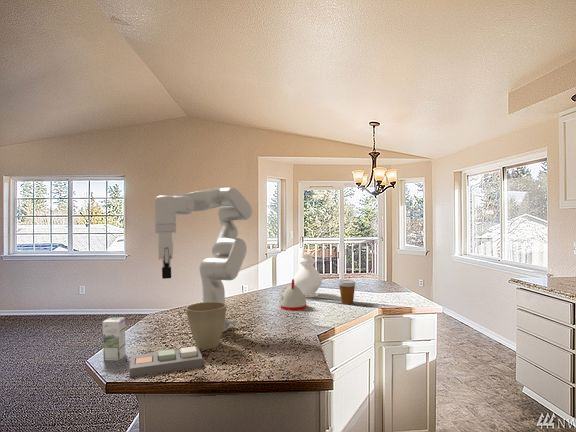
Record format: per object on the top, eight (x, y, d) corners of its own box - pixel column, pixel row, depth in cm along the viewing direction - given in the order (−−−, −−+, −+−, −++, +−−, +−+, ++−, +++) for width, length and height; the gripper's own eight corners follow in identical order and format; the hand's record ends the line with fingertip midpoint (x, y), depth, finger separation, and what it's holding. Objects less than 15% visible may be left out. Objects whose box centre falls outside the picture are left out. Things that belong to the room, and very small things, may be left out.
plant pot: (210, 339, 156) (209, 300, 156) (235, 346, 146) (234, 304, 146) (178, 349, 144) (177, 307, 144) (204, 358, 135) (203, 312, 135)
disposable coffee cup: (357, 304, 210) (356, 282, 210) (339, 305, 210) (339, 283, 210) (354, 300, 220) (354, 279, 220) (337, 301, 220) (337, 280, 220)
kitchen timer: (307, 304, 214) (306, 277, 214) (305, 310, 200) (305, 281, 200) (282, 304, 215) (281, 277, 215) (279, 310, 201) (278, 281, 201)
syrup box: (126, 357, 138) (125, 316, 138) (119, 363, 132) (118, 321, 132) (110, 357, 138) (109, 317, 138) (102, 363, 132) (101, 321, 132)
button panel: (198, 356, 136) (198, 346, 136) (202, 369, 125) (202, 358, 125) (132, 366, 129) (131, 355, 129) (129, 380, 118) (129, 368, 118)
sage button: (174, 356, 130) (174, 349, 130) (175, 361, 126) (174, 353, 126) (158, 358, 129) (158, 351, 129) (158, 363, 124) (158, 356, 124)
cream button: (195, 353, 133) (195, 346, 133) (196, 358, 128) (196, 351, 128) (180, 355, 131) (180, 348, 131) (181, 360, 126) (181, 353, 126)
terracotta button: (152, 363, 128) (152, 356, 128) (152, 369, 123) (152, 361, 123) (136, 366, 126) (136, 358, 126) (135, 371, 122) (135, 363, 122)
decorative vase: (327, 293, 241) (326, 254, 241) (313, 299, 226) (312, 256, 226) (302, 291, 251) (301, 253, 251) (288, 296, 236) (287, 255, 236)
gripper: (155, 228, 149) (156, 276, 149) (155, 229, 135) (156, 282, 135) (175, 228, 152) (176, 274, 152) (177, 229, 138) (178, 280, 138)
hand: (166, 278), depth 144 cm, fingers closed
